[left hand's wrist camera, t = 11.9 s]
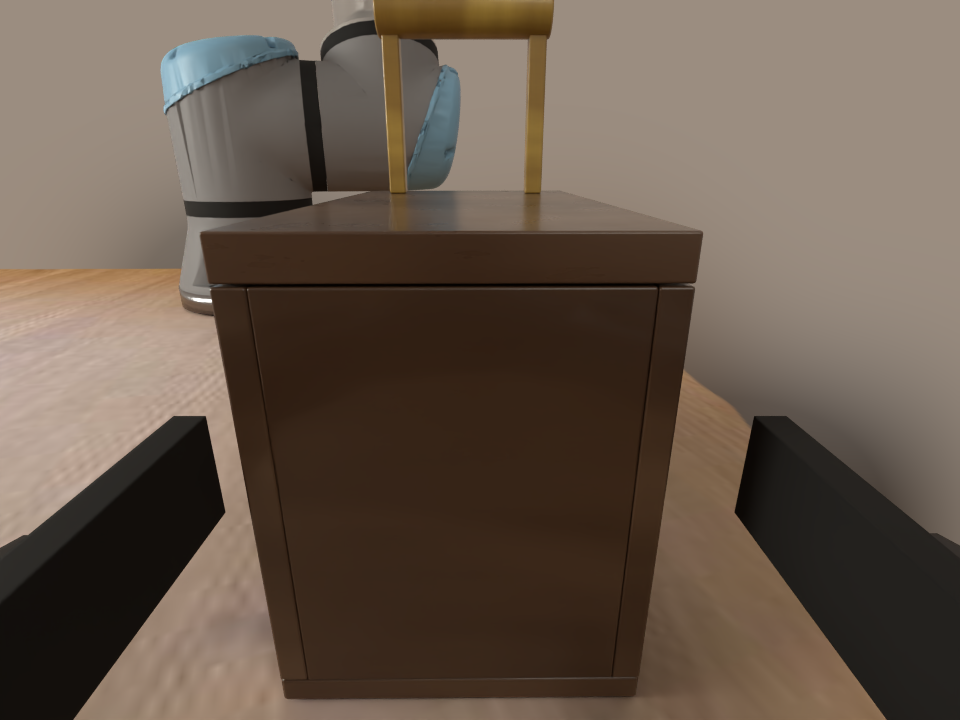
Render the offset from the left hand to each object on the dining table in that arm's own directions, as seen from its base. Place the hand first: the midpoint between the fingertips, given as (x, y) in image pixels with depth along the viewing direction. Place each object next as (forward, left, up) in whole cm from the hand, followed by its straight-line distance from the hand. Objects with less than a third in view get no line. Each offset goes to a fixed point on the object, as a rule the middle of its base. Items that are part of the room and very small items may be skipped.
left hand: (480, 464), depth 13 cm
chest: (+7, +2, -6) cm, 9 cm away
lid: (+7, +2, +5) cm, 9 cm away
